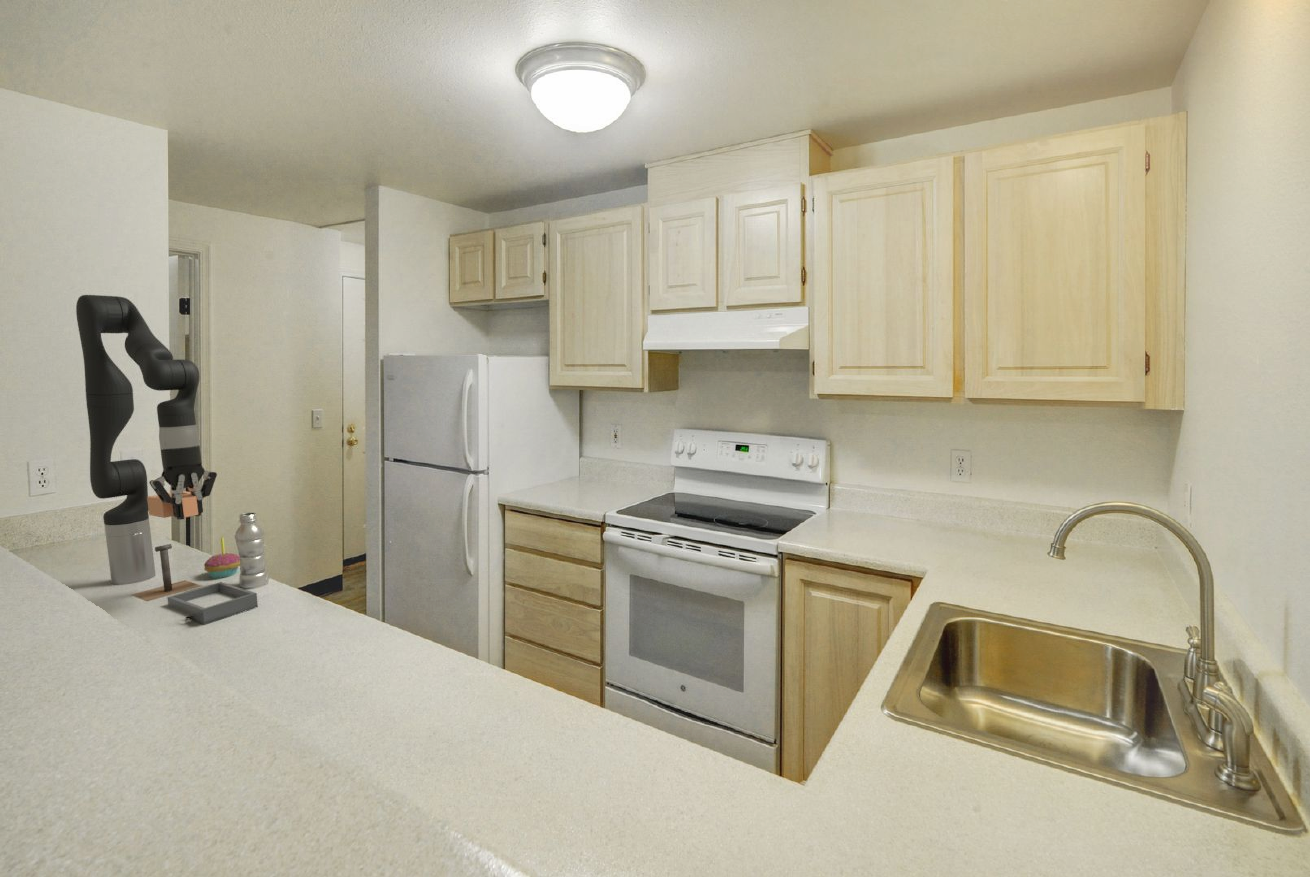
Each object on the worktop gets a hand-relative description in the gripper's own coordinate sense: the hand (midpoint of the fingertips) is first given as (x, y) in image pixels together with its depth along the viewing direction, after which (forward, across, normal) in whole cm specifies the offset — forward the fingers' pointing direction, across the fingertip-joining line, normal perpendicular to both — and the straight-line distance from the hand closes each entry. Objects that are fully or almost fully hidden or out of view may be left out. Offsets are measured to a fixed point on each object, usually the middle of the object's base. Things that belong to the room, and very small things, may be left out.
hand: (188, 517), depth 155 cm
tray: (+22, -1, +5) cm, 23 cm away
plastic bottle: (+22, -13, 0) cm, 26 cm away
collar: (0, 0, -5) cm, 5 cm away
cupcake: (+22, -13, -15) cm, 30 cm away
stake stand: (+22, 0, -14) cm, 26 cm away
